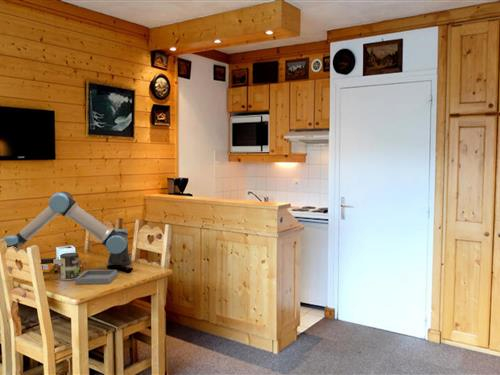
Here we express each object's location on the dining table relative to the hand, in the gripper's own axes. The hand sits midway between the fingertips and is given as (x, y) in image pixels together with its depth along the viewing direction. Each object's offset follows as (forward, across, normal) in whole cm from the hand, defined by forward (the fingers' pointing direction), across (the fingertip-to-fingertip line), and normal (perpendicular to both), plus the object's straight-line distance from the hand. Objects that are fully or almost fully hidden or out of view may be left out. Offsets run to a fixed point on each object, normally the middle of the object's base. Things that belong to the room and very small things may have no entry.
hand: (55, 264), depth 270 cm
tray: (+27, -1, -7) cm, 28 cm away
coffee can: (+10, 0, -8) cm, 12 cm away
